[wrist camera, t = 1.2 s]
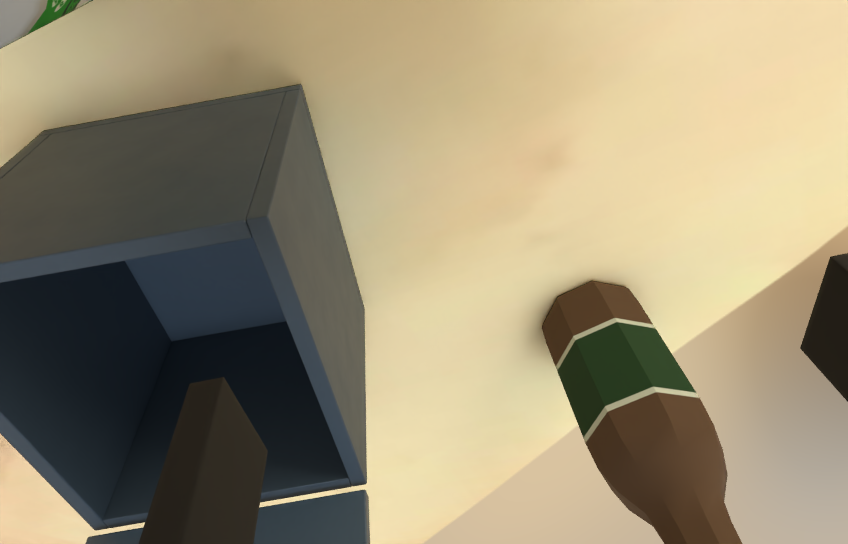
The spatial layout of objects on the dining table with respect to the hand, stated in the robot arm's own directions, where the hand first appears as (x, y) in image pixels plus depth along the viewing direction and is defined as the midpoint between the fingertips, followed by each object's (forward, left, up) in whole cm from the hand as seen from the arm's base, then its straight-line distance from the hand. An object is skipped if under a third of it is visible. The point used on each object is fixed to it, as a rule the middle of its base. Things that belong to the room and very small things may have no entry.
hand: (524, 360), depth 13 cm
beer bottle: (+21, +10, -23) cm, 33 cm away
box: (+8, -14, -23) cm, 28 cm away
